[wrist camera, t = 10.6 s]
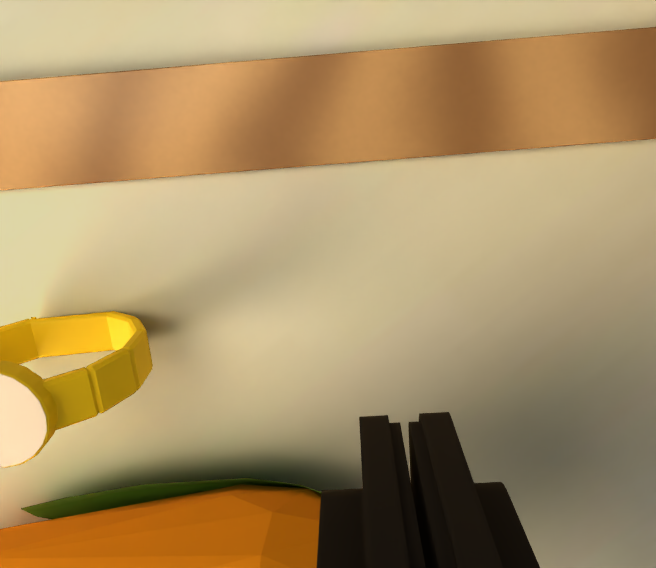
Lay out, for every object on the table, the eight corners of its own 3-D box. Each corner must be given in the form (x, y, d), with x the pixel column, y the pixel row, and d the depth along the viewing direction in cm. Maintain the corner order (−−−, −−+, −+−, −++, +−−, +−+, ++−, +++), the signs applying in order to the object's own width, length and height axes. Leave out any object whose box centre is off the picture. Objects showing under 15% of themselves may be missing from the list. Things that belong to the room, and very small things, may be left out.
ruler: (803, 15, 17) (811, 13, 16) (785, 127, 18) (792, 127, 17) (-190, 97, 17) (-199, 97, 17) (-155, 201, 18) (-163, 203, 18)
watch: (6, 373, 20) (-120, 478, 14) (-14, 299, 19) (-155, 380, 14) (173, 362, 20) (113, 463, 14) (161, 287, 19) (91, 363, 14)
